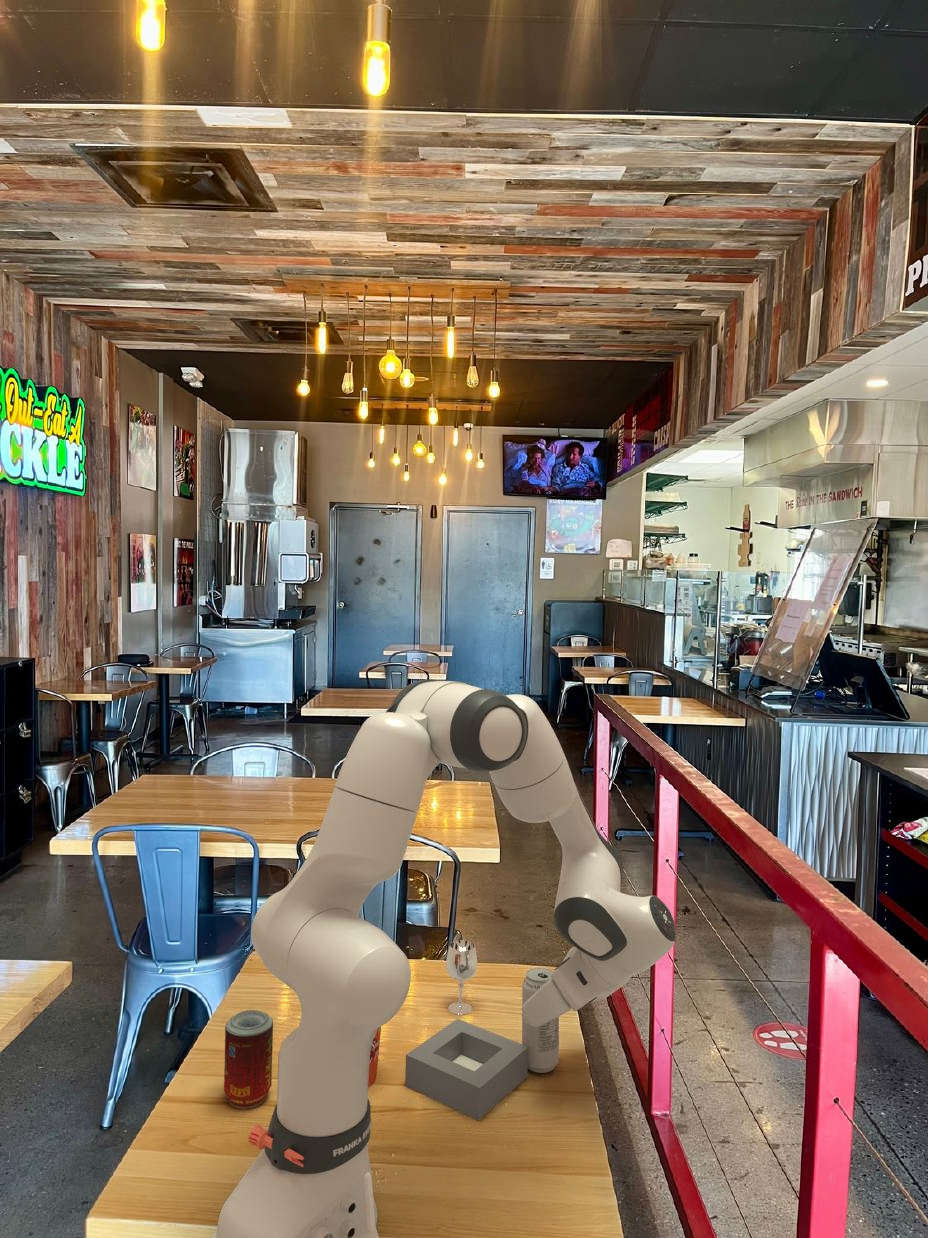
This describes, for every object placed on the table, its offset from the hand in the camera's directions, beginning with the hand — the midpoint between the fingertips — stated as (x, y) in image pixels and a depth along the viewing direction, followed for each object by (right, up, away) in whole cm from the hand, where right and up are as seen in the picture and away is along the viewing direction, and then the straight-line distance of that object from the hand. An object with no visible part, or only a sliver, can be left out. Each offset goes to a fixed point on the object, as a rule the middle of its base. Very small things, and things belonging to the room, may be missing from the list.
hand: (537, 1009), depth 139 cm
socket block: (-12, -9, -5) cm, 16 cm away
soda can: (-45, -9, -11) cm, 47 cm away
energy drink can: (0, -9, 0) cm, 9 cm away
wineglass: (-13, -8, +18) cm, 24 cm away
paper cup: (-29, -9, -5) cm, 31 cm away
